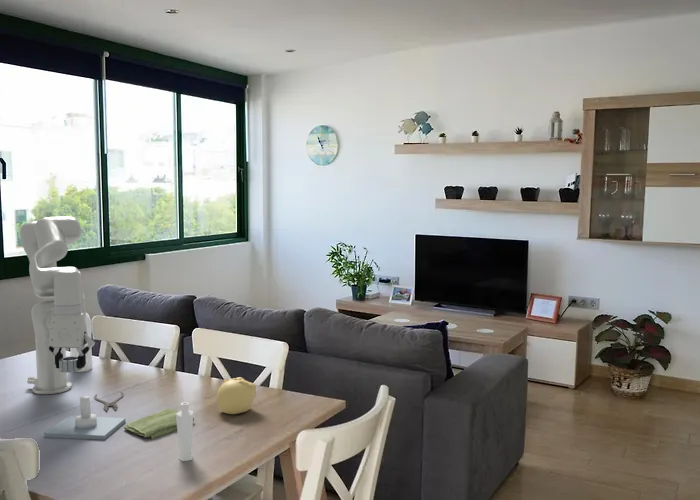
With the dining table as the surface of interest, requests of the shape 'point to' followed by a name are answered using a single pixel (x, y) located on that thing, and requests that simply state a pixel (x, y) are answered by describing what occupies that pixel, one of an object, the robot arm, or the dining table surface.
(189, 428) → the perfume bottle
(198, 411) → the dining table surface
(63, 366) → the ring
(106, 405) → the pliers
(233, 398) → the pale yellow round lump
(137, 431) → the washcloth
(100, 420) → the piston block
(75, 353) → the bottle
